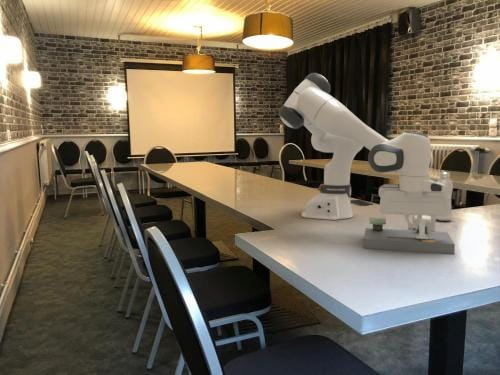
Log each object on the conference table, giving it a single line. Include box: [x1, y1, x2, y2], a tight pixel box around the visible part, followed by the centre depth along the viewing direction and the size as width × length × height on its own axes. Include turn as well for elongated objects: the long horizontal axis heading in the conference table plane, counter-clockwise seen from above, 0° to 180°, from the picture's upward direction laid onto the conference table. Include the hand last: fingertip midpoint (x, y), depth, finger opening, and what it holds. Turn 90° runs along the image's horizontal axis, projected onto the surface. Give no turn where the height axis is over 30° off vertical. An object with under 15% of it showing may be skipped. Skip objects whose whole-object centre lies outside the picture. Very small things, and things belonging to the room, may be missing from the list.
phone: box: [350, 199, 374, 207], centre depth 216 cm, size 8×1×15 cm
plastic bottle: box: [435, 171, 454, 222], centre depth 168 cm, size 6×7×20 cm
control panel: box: [362, 224, 456, 255], centre depth 134 cm, size 26×16×5 cm, turn 72°
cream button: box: [414, 215, 431, 223], centre depth 136 cm, size 5×5×2 cm
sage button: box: [369, 216, 387, 226], centre depth 141 cm, size 5×5×2 cm
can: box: [412, 215, 436, 232], centre depth 152 cm, size 8×8×12 cm
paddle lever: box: [416, 220, 428, 239], centre depth 128 cm, size 3×4×5 cm
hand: (412, 228), depth 129 cm, fingers closed
